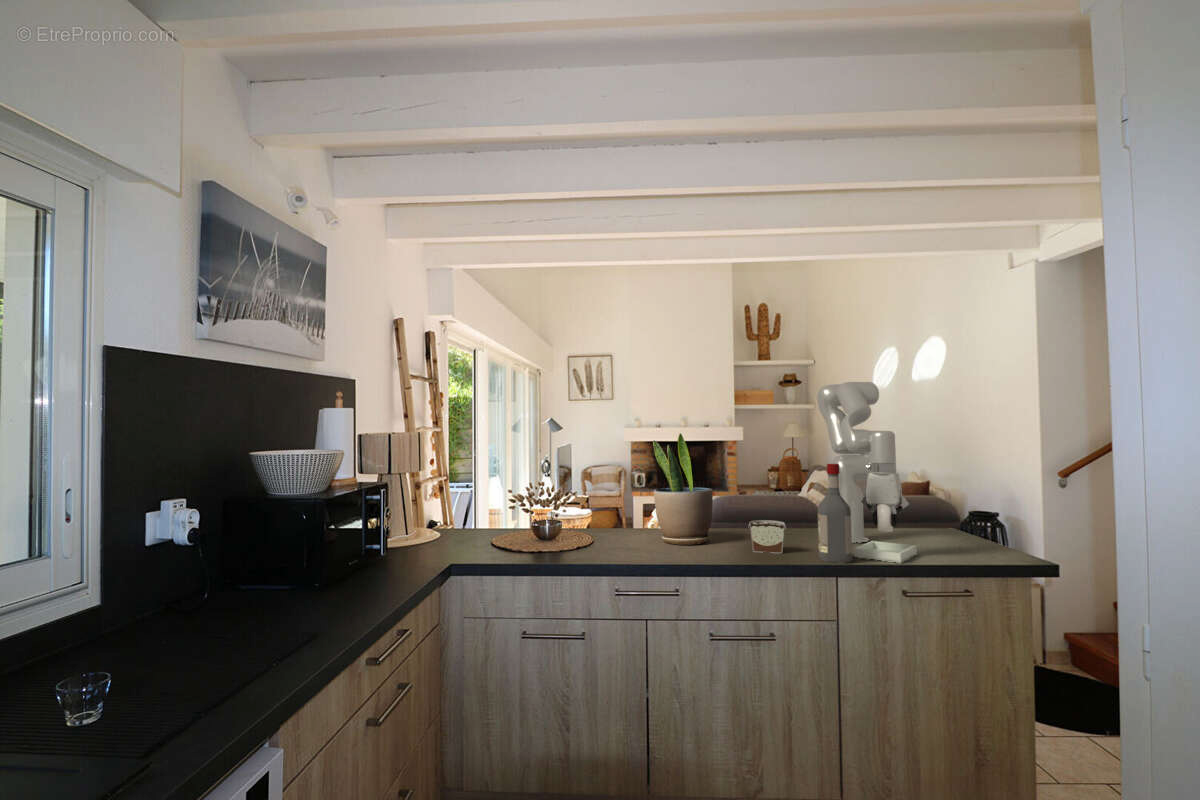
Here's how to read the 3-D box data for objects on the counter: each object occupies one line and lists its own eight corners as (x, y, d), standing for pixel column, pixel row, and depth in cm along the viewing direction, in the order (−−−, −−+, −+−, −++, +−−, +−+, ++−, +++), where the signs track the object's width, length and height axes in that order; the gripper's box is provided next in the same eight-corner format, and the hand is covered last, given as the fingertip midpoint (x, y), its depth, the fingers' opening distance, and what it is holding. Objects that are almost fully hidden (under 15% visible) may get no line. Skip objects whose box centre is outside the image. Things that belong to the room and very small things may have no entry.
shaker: (875, 531, 202) (874, 497, 202) (880, 529, 205) (879, 496, 206) (890, 532, 199) (889, 498, 199) (895, 530, 202) (894, 497, 203)
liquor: (848, 558, 199) (846, 463, 201) (853, 563, 190) (850, 464, 192) (818, 556, 201) (816, 463, 203) (821, 562, 192) (819, 464, 194)
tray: (853, 557, 200) (853, 548, 200) (872, 549, 213) (872, 540, 213) (900, 563, 190) (900, 553, 190) (916, 554, 204) (916, 545, 204)
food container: (787, 550, 212) (787, 520, 213) (786, 553, 206) (786, 523, 207) (750, 548, 216) (749, 519, 217) (748, 551, 210) (748, 521, 211)
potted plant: (645, 538, 237) (644, 433, 239) (696, 535, 243) (695, 432, 246) (668, 548, 217) (667, 432, 219) (724, 544, 223) (722, 432, 226)
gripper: (852, 468, 206) (854, 524, 205) (908, 469, 195) (910, 529, 194) (860, 467, 212) (862, 522, 210) (914, 469, 200) (917, 526, 199)
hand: (885, 524), depth 202 cm, fingers closed on shaker, 4 cm apart
